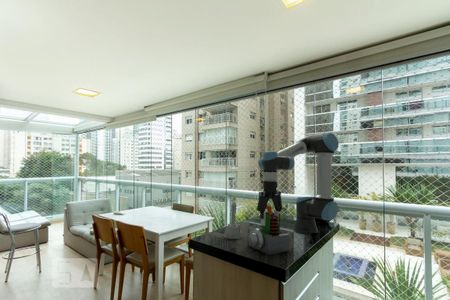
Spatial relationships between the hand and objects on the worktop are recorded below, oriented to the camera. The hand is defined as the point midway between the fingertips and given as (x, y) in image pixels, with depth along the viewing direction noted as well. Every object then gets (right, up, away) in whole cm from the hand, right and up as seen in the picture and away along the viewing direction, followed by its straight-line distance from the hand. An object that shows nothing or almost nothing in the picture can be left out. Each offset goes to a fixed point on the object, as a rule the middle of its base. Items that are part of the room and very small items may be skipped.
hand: (269, 224), depth 123 cm
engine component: (-19, -13, +18) cm, 29 cm away
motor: (0, -10, -1) cm, 10 cm away
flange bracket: (-3, -12, -2) cm, 12 cm away
